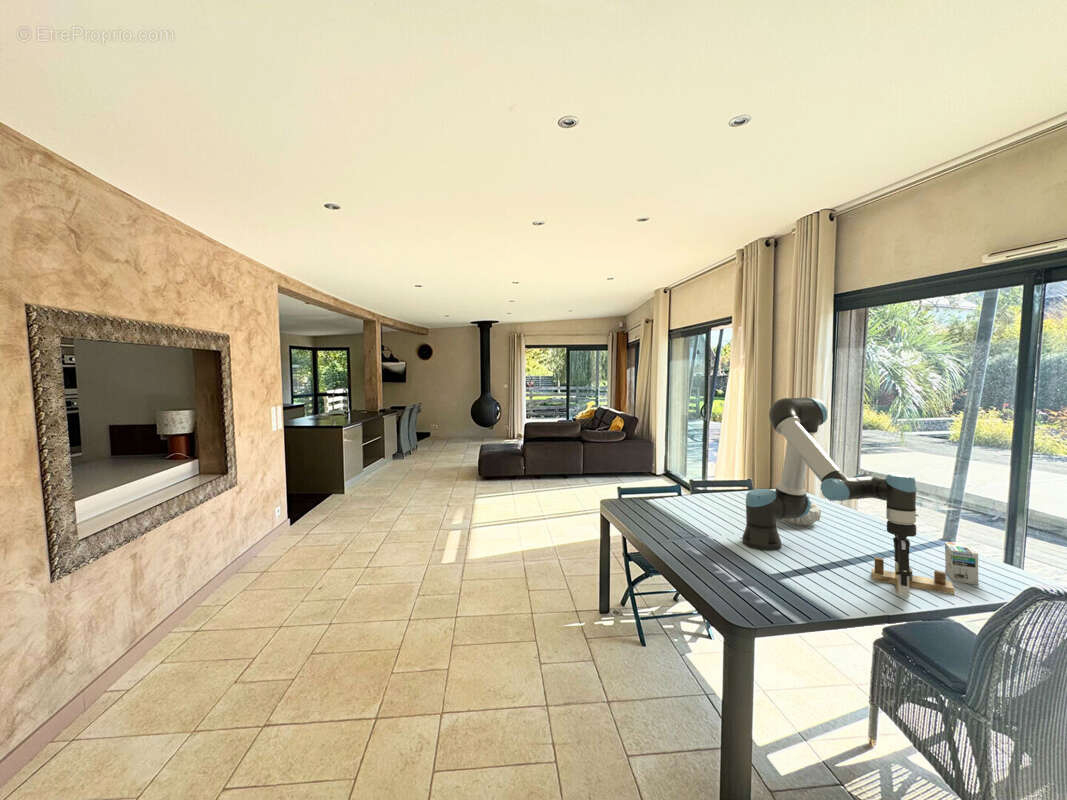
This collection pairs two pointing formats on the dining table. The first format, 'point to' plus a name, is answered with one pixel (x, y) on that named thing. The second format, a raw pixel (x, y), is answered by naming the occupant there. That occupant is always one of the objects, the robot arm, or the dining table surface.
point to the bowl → (808, 516)
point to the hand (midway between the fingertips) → (901, 588)
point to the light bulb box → (961, 563)
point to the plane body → (913, 578)
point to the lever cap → (896, 579)
